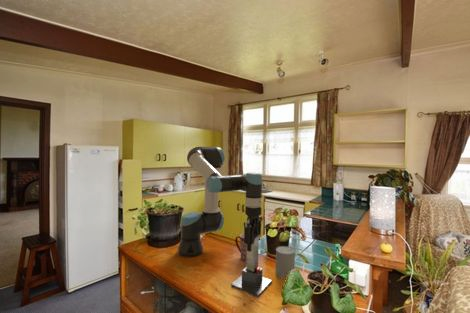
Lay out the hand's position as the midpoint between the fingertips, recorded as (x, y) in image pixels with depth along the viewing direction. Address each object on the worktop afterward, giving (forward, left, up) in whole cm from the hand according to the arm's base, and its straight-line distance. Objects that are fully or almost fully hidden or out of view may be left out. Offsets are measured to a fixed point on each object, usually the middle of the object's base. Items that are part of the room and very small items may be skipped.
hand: (252, 255), depth 109 cm
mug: (-17, +21, -14) cm, 30 cm away
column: (0, 0, -6) cm, 6 cm away
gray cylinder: (+9, +18, -14) cm, 24 cm away
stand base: (0, 0, -14) cm, 14 cm away
